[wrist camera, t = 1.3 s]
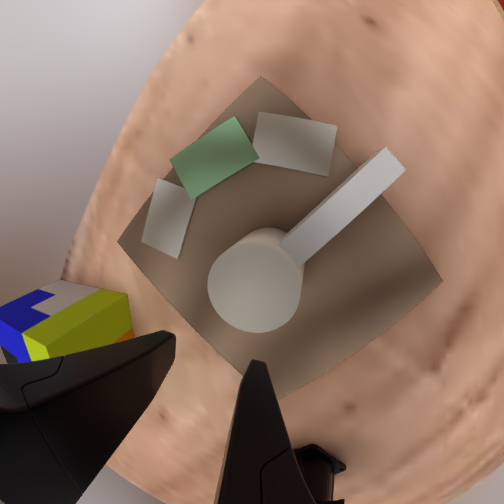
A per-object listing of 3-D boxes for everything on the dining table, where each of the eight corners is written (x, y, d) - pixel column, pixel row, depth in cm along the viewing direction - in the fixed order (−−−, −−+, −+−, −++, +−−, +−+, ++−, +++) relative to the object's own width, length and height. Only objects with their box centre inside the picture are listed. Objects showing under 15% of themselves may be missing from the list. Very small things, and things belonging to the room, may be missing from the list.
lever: (268, 307, 18) (251, 347, 14) (222, 259, 18) (190, 284, 14) (400, 192, 15) (432, 196, 10) (351, 136, 15) (366, 117, 10)
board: (444, 268, 16) (453, 274, 15) (275, 393, 22) (272, 404, 20) (268, 70, 16) (264, 62, 15) (122, 234, 21) (111, 237, 20)
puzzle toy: (59, 279, 25) (-11, 312, 15) (127, 293, 23) (45, 346, 13) (78, 356, 27) (24, 399, 18) (144, 381, 25) (89, 443, 16)
